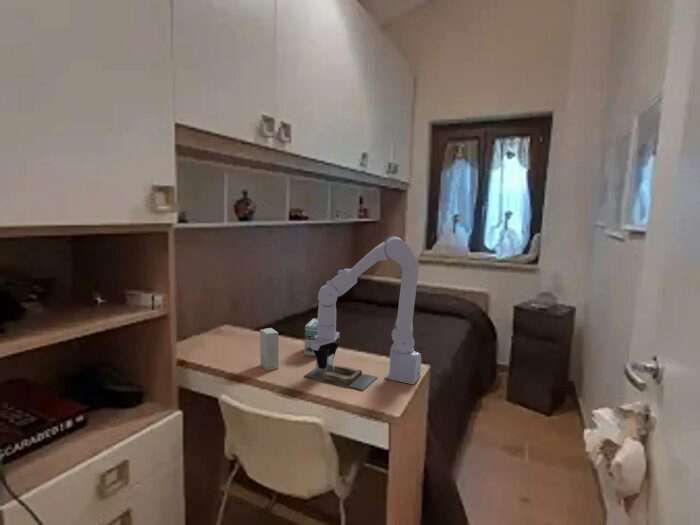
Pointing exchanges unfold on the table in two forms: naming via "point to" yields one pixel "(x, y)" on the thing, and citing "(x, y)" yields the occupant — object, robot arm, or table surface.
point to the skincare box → (269, 349)
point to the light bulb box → (310, 336)
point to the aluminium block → (328, 365)
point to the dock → (344, 377)
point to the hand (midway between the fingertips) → (325, 365)
